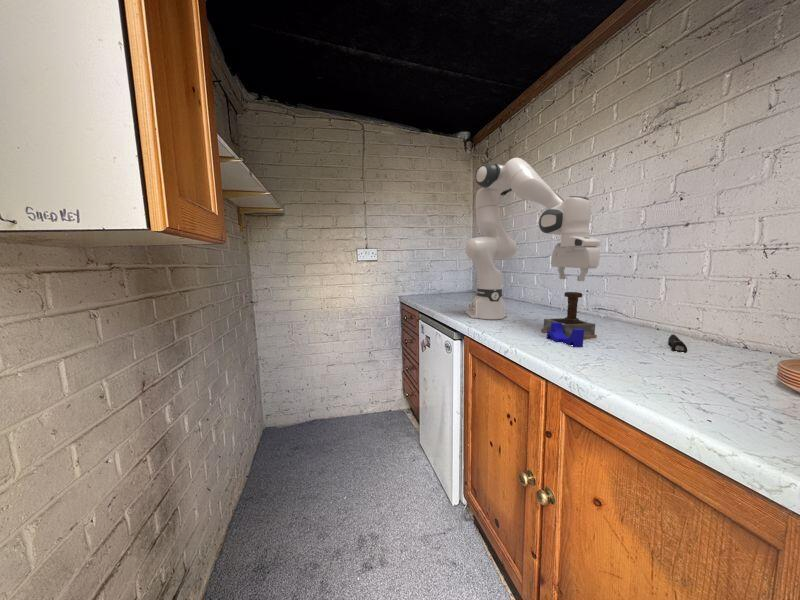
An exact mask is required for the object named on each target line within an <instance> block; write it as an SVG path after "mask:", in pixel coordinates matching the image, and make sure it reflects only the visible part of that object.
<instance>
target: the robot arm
mask: <svg viewBox="0 0 800 600" xmlns="http://www.w3.org/2000/svg"><path fill="white" fill-rule="evenodd" d="M475 182H476V184H477V185H478V186H479V187H481V188H479V189H478V190H477V192H476V195H475V217H476V226H477V228H478V229H479V231H481V232H483V233H484V234H485V236H477V237H472V238H470V239H469V240H468V241H467V242H466V245H465V253H466V255H467V257H468V258H469V259H470V260H471V261H472V262H473V264H474V266H475V267H476V271H477V277H478V278H477V282H478V284H477V285H478V286H477V289H476V294H475V295H476V296H475V297H474V298H473V299H472V301H470V303H468V309H469V310H466V311H465V314H466V315H467V316H468V317H470V318H471V319H482V320H502V319H504V318H507V316H508V315H507V313H506V314H505V300H504V299H503V289H502V287H503V286H502V284H503V273H502V271H500V269H499V268H497V267H496V266H495V264H494V261H504V260H509V259H512V258H513V257H515V255H516V253H517V250H518V249H517V246H518V245H517V243H516V241H515V240H514V239H512V238H511V236H509V234H508V233H507V232H506V230H505V228H504V226H503V224H502V219H501V213H500V204H499V198H500V196H506V195H507V194H508V193H510V192H512V193H514V194H515V195H516V196H518V198H520V199H523V200H526V201H530V202H534V203H538V204H540V205H542V206H543V207H545V208H546V209H545V210H544V211H543V212H542V213H541V215H540V216H539V219H538V220H539V221H538V227H539V229H540V231H541V232H542V233H544V234H547V235H556V236H557V235H559V236H560V242H557V244H555V246H554V249H553V251H552V254H551V261H550V264H551V266H552V267H555V268H557V272H558V274H559V276H558V278H559V280H566V279H567V274H565V270H566V268H574V269H579V271H580V273H579V275H578V276H577V277H576V278H577V279H576V281H577V282H585V279H586V276H587V274H588V272H589V269H590V270H591V269H597V267H598V266H600V265H599V263H600V255H601V254H600V253H601V251H600V248H599V247H600V246H601V240H600V239H599V238H598V239H597V238H595V237H592V236H590V229H589V228H590V227H589V226H590V223H591V218H592V202H591V200H590V198H589V197H587V196H578V195H570V196H567V197H565V199H563V197H561V196H560V195H559V194H558V193H557V192H556V191H555V190H554V189H553V188H551V187H550V185H548V184H547V182H546V181H544V180H543V178H541V177H540V175H539V174H538V173H537V171H536V170H535V169H534V168H533V166H531V165H530V164H529V163H528V162H527V161H526V160H524V159H522V158H521V157H514V158H511V159H509V160H508V161H507V162H506V163H505V164H504V165H503V164H498V163H494V162H487V163H482V164H481V165H480V166H478V168H477V170H476V173H475Z"/></svg>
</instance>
